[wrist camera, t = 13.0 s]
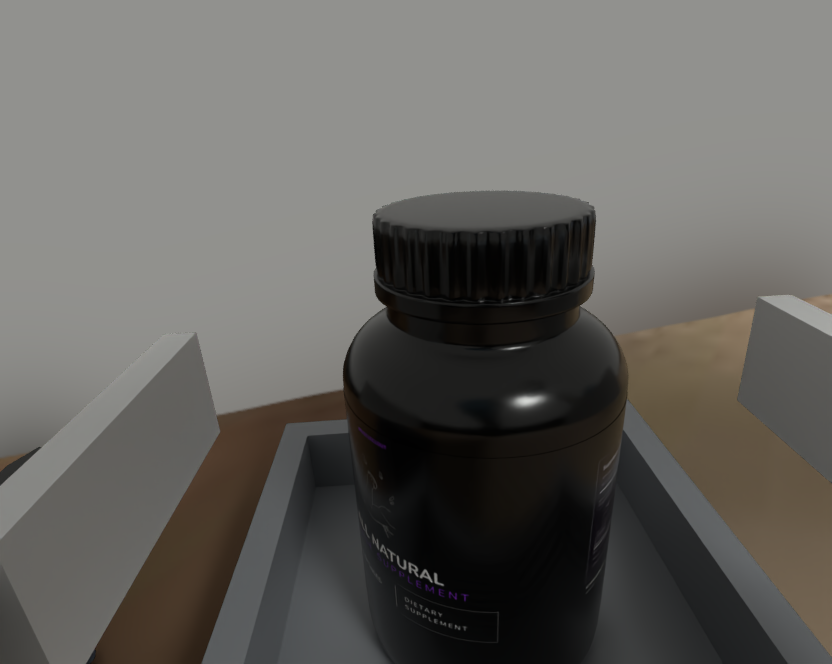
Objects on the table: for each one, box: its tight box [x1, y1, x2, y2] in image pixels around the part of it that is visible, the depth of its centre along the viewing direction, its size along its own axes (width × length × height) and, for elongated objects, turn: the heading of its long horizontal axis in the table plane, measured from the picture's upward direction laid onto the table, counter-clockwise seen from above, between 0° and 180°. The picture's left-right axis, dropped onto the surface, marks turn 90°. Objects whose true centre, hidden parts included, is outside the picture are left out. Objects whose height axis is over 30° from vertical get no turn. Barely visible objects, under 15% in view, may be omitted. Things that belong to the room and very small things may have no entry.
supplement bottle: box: [343, 191, 628, 664], centre depth 14 cm, size 7×7×12 cm
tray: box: [202, 400, 832, 664], centre depth 16 cm, size 14×14×3 cm
